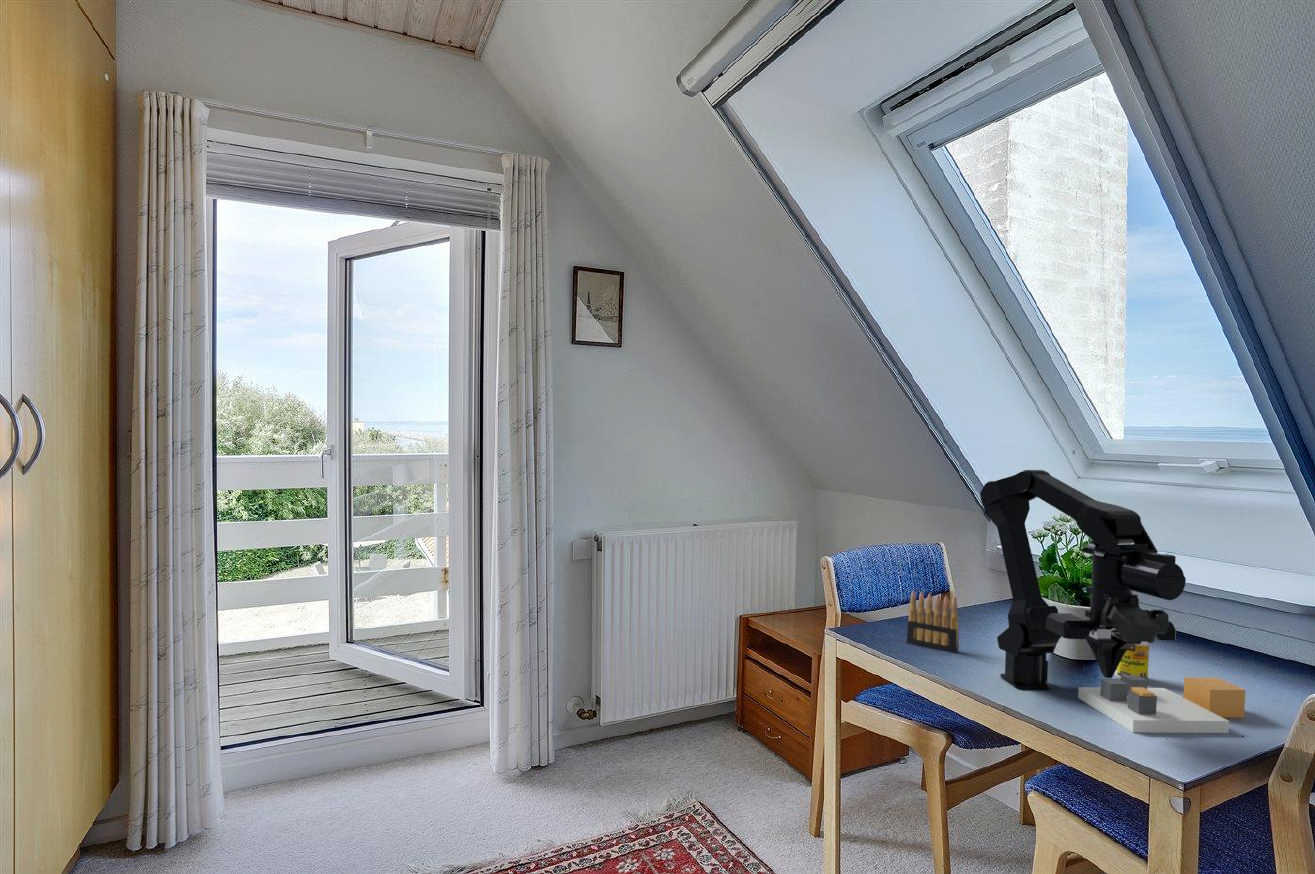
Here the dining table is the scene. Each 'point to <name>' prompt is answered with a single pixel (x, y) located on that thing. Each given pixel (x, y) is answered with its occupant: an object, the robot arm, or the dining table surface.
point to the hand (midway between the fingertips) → (1107, 677)
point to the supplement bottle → (1134, 661)
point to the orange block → (1215, 696)
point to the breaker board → (1170, 709)
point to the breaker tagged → (1142, 700)
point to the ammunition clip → (933, 624)
